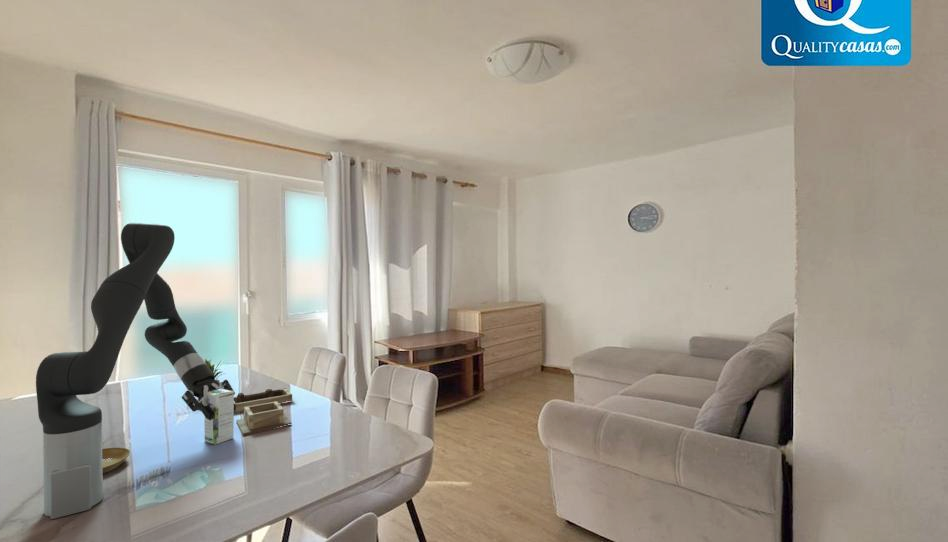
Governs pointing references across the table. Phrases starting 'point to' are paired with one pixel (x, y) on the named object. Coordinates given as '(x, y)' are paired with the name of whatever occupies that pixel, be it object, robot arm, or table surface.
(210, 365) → the house plant
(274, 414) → the socket
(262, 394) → the bolt
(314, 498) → the table surface
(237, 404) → the bolt rack
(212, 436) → the syrup box
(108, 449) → the plant saucer
